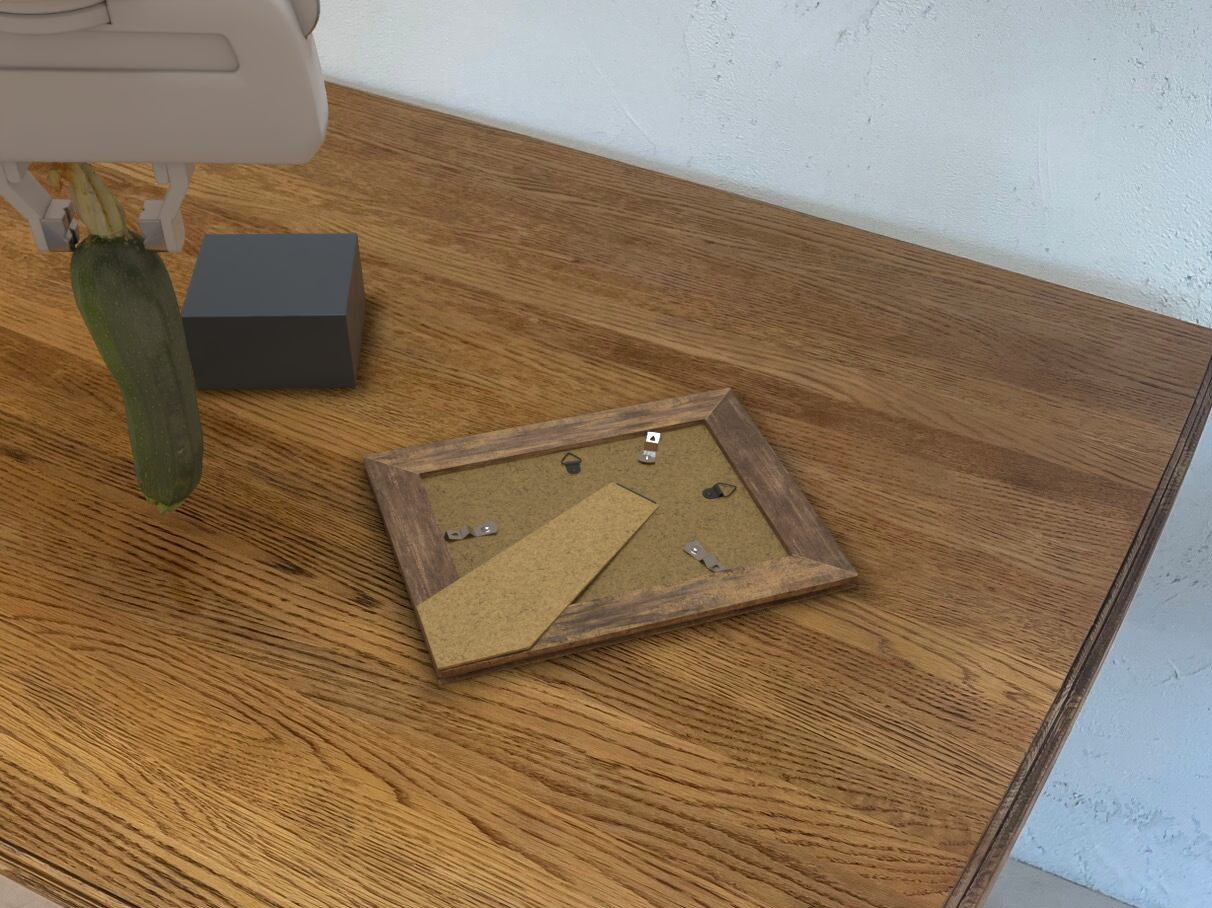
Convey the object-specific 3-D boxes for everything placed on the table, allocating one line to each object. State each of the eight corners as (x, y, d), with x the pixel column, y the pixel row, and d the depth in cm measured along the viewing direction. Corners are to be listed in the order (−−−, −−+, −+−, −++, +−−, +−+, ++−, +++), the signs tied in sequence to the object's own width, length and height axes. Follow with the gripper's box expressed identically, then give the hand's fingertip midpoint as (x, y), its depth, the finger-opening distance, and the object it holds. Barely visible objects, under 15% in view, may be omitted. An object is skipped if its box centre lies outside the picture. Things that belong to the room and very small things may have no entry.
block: (198, 398, 86) (179, 316, 82) (220, 313, 93) (203, 233, 89) (357, 395, 87) (345, 314, 83) (367, 311, 94) (357, 232, 90)
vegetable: (226, 484, 73) (147, 128, 59) (223, 537, 70) (139, 175, 56) (141, 490, 73) (41, 131, 58) (134, 543, 70) (27, 179, 55)
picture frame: (440, 693, 69) (854, 595, 75) (437, 669, 68) (859, 571, 74) (365, 475, 81) (727, 406, 88) (361, 451, 80) (730, 383, 86)
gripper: (317, -110, 53) (354, 212, 63) (-225, -125, 52) (-101, 209, 62) (301, -52, 49) (343, 285, 59) (-292, -66, 47) (-146, 283, 57)
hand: (112, 246), depth 60 cm, fingers closed on vegetable, 3 cm apart
